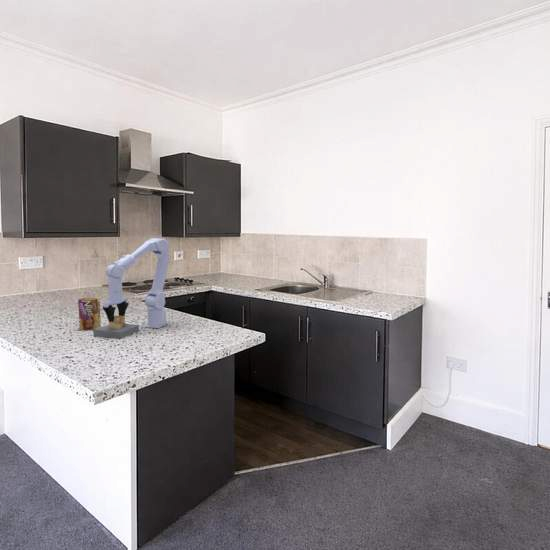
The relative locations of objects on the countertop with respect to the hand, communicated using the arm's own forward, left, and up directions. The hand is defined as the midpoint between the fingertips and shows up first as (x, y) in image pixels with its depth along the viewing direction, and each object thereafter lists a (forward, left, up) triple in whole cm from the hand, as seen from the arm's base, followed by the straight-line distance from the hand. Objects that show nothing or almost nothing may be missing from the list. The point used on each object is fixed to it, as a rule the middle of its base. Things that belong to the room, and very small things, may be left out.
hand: (116, 319), depth 181 cm
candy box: (-4, -18, -7) cm, 20 cm away
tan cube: (0, 0, -3) cm, 4 cm away
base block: (0, 0, -6) cm, 7 cm away
